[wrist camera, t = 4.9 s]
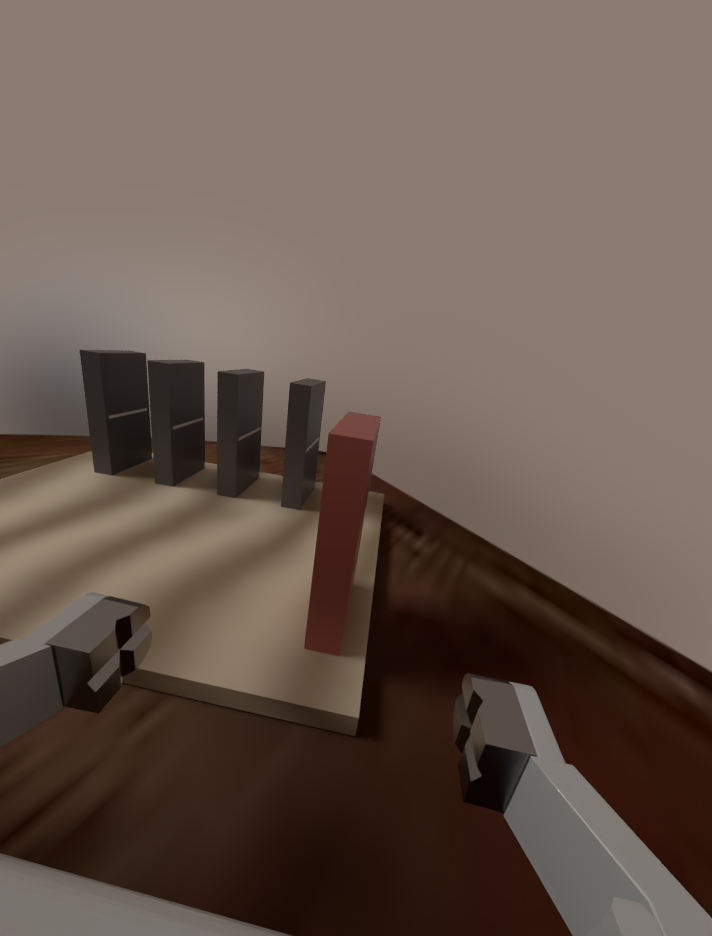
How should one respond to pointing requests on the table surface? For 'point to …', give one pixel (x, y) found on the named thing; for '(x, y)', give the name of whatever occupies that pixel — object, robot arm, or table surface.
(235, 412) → the domino
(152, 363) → the domino
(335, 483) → the red domino
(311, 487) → the domino
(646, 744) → the table surface
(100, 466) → the domino
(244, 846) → the table surface
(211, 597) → the birch board
